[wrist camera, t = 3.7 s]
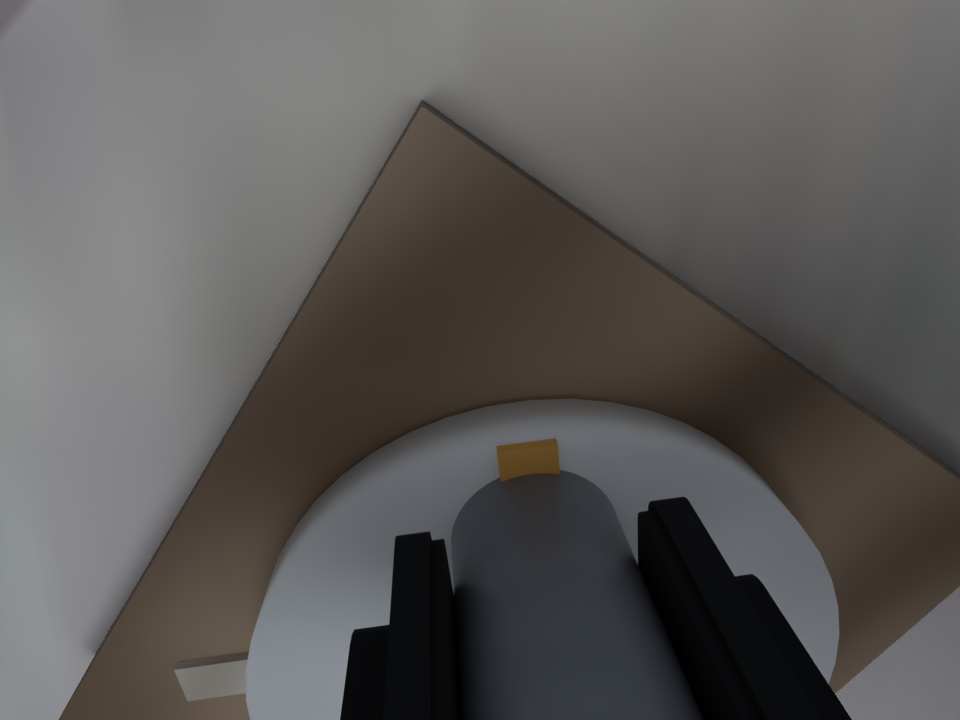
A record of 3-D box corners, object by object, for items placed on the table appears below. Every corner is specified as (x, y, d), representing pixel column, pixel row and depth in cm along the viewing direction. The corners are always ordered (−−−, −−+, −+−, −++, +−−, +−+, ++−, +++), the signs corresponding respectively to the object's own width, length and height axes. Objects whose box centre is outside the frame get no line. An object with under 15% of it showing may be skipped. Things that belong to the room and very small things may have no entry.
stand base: (961, 476, 16) (1035, 532, 14) (581, 828, 21) (597, 906, 19) (422, 100, 12) (421, 106, 10) (94, 656, 17) (49, 736, 15)
